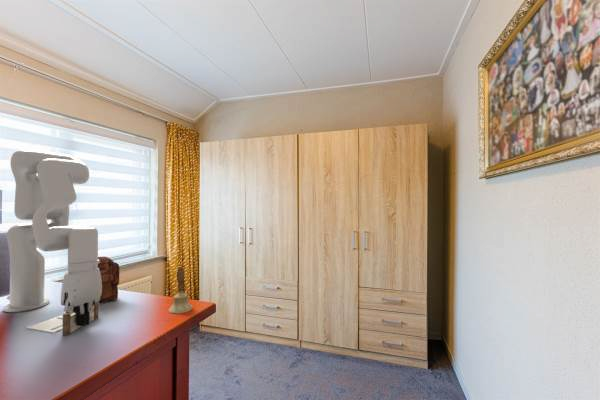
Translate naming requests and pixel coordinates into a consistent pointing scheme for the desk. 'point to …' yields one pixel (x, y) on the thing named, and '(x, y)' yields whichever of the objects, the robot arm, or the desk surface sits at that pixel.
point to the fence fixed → (96, 310)
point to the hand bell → (180, 296)
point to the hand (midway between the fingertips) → (82, 324)
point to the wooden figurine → (108, 279)
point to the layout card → (49, 325)
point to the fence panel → (73, 322)
